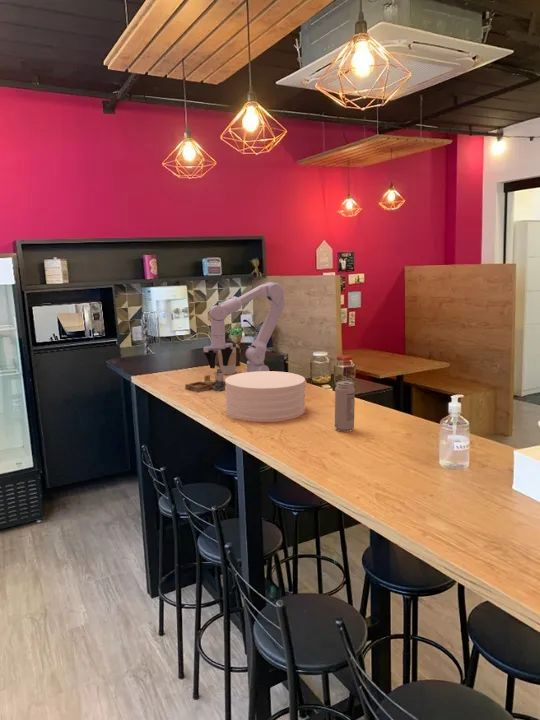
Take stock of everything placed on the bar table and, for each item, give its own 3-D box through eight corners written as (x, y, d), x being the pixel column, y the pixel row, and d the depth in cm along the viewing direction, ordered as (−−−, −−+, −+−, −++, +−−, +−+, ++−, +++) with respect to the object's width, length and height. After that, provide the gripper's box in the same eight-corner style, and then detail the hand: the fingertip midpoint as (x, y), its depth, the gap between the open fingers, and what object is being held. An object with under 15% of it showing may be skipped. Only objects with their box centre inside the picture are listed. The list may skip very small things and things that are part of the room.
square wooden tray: (212, 388, 230) (212, 384, 229) (197, 392, 224) (197, 387, 224) (200, 385, 235) (200, 381, 235) (185, 389, 229) (185, 384, 229)
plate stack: (210, 409, 199) (209, 378, 197) (270, 396, 216) (269, 368, 214) (259, 427, 178) (259, 392, 176) (321, 411, 195) (321, 379, 193)
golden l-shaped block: (218, 385, 236) (218, 377, 235) (213, 386, 234) (213, 377, 234) (208, 383, 240) (208, 375, 239) (204, 384, 238) (204, 376, 238)
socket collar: (239, 386, 234) (239, 384, 234) (218, 391, 225) (218, 389, 225) (220, 382, 242) (220, 380, 242) (199, 386, 233) (199, 385, 233)
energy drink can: (341, 425, 178) (341, 379, 175) (357, 428, 174) (358, 382, 172) (330, 430, 174) (331, 383, 171) (347, 433, 170) (348, 385, 167)
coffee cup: (238, 374, 257) (236, 342, 254) (218, 375, 256) (216, 343, 253) (237, 370, 266) (235, 339, 263) (218, 371, 265) (216, 340, 262)
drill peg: (225, 386, 234) (224, 369, 232) (219, 387, 231) (218, 370, 230) (219, 385, 236) (219, 368, 235) (213, 386, 234) (213, 369, 232)
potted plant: (212, 364, 283) (211, 329, 280) (232, 362, 288) (232, 327, 285) (223, 369, 269) (222, 332, 266) (244, 367, 274) (244, 331, 271)
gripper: (224, 332, 238) (225, 363, 240) (198, 335, 227) (199, 368, 230) (235, 333, 233) (236, 365, 235) (209, 337, 222) (210, 370, 225)
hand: (218, 367), depth 232 cm, fingers open, 7 cm apart
